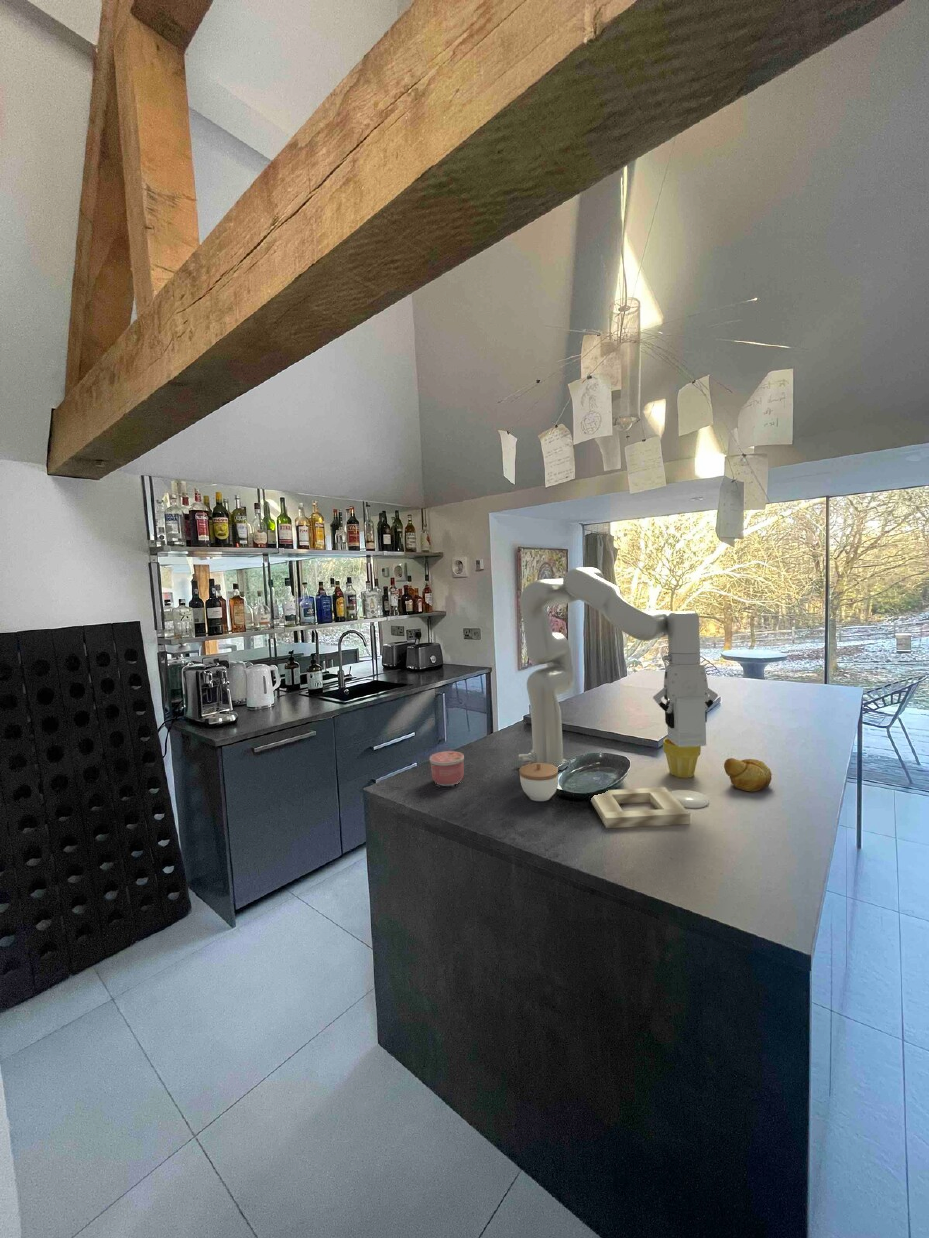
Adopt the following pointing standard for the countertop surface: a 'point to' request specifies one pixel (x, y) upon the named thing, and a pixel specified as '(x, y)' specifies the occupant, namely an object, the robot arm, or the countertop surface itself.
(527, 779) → the lidded jar
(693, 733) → the supplement box
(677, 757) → the plant pot
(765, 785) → the bread roll
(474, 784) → the countertop surface
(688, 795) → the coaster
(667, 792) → the board
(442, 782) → the container
